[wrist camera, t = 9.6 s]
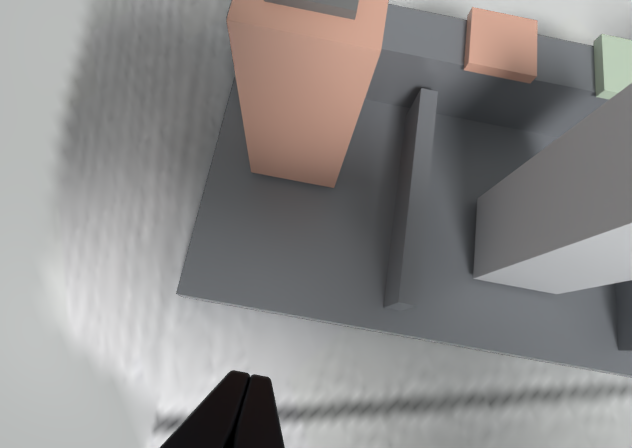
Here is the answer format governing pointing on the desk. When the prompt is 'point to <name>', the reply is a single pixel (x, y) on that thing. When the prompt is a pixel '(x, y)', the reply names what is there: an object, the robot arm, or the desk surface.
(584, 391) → the desk surface
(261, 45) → the peach tall block
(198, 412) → the robot arm
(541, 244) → the grey block
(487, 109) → the block sorting stand
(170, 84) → the desk surface
